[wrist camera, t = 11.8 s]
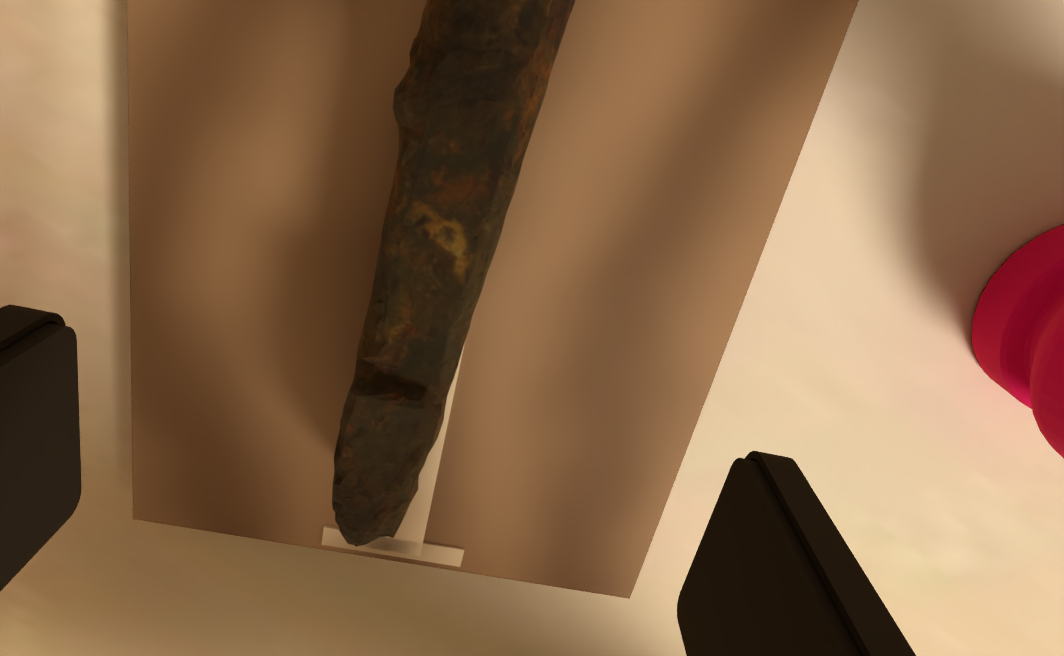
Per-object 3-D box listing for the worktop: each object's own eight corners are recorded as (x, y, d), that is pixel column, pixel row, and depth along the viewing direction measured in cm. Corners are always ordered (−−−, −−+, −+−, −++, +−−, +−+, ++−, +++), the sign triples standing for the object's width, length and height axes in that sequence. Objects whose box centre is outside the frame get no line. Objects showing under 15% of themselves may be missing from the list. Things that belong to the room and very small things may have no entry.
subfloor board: (924, -230, 17) (955, -249, 16) (625, 574, 27) (629, 600, 26) (150, -469, 15) (118, -511, 14) (149, 496, 25) (131, 520, 24)
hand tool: (463, -194, 16) (440, -267, 12) (625, -125, 16) (660, -171, 12) (296, 459, 23) (246, 559, 19) (412, 490, 24) (388, 594, 20)
